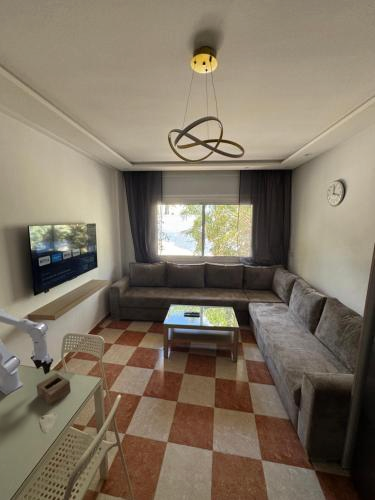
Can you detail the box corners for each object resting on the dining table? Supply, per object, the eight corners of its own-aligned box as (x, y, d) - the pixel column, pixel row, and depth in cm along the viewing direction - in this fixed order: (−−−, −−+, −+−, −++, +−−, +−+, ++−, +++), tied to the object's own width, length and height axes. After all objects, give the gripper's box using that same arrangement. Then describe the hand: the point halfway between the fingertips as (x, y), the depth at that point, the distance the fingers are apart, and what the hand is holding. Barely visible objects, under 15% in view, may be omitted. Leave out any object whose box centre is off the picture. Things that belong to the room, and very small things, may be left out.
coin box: (37, 395, 115) (36, 385, 114) (57, 382, 123) (56, 373, 122) (51, 405, 109) (50, 394, 108) (70, 391, 118) (69, 381, 116)
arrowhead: (57, 408, 105) (56, 428, 97) (57, 411, 106) (56, 432, 97) (40, 415, 102) (37, 436, 94) (40, 418, 103) (38, 439, 94)
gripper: (24, 346, 116) (27, 369, 118) (40, 355, 109) (42, 380, 111) (39, 339, 122) (41, 362, 124) (54, 348, 115) (56, 371, 117)
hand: (43, 370), depth 118 cm, fingers open, 7 cm apart
